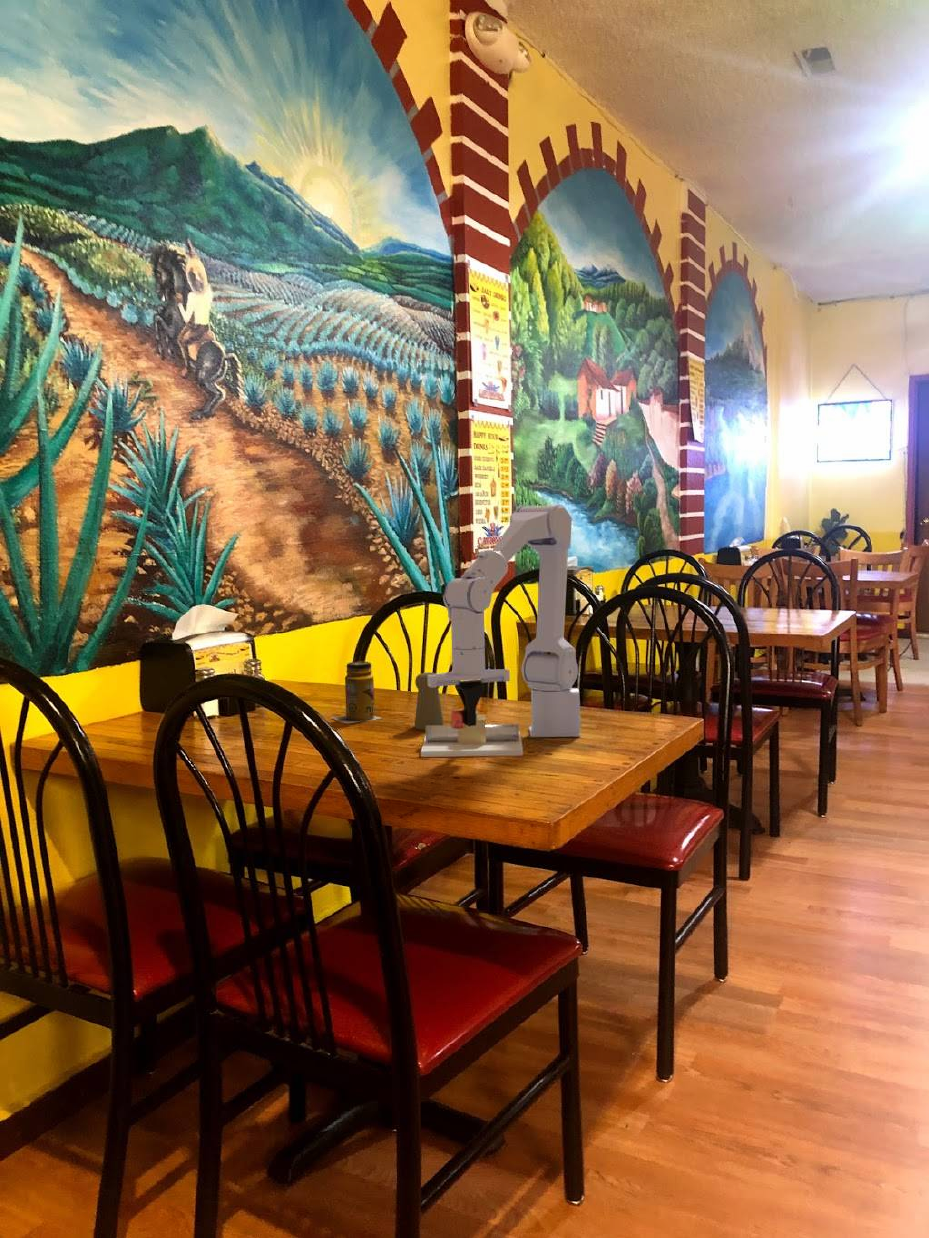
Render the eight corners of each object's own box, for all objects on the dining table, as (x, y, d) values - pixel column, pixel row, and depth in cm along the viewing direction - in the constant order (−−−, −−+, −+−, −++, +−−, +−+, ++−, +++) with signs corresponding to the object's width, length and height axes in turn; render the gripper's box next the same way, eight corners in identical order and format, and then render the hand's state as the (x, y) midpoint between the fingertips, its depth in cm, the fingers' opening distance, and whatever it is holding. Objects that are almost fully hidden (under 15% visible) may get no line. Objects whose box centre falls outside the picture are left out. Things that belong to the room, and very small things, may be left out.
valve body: (518, 737, 181) (517, 714, 180) (518, 743, 176) (518, 719, 175) (427, 738, 181) (426, 715, 180) (425, 744, 176) (424, 721, 175)
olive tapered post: (440, 730, 193) (439, 675, 192) (411, 729, 194) (409, 675, 193) (447, 723, 199) (445, 670, 198) (418, 723, 200) (417, 670, 199)
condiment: (382, 719, 205) (380, 663, 204) (347, 724, 200) (345, 667, 199) (365, 713, 211) (363, 659, 210) (330, 719, 206) (328, 663, 205)
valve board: (519, 736, 186) (519, 731, 185) (522, 755, 171) (522, 749, 171) (426, 738, 186) (426, 732, 186) (421, 756, 171) (420, 751, 171)
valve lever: (467, 715, 179) (467, 699, 179) (479, 715, 179) (479, 699, 178) (450, 728, 168) (449, 711, 168) (463, 728, 168) (462, 711, 167)
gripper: (498, 642, 174) (499, 717, 175) (421, 647, 169) (423, 724, 170) (513, 646, 167) (515, 724, 168) (433, 652, 162) (435, 732, 163)
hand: (469, 724), depth 169 cm, fingers closed, pressing on valve lever
